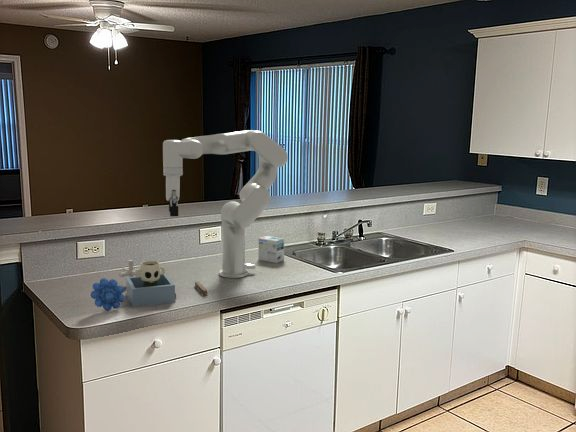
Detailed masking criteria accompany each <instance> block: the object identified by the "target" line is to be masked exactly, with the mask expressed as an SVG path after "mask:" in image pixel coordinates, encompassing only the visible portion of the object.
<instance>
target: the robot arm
mask: <svg viewBox="0 0 576 432" xmlns="http://www.w3.org/2000/svg"><path fill="white" fill-rule="evenodd" d="M249 151H253V152H255V153H256V154H258V164H259V165H258V168H257V171H256V172H255V174H254V175H253V176H252V177H251V178H250V179H249V180H248V182H247V183H245V185H244V186H243V187H242V188H241V190H240V191H239V199H240V201H241V203H240V202H238V201H234V200H231V201H227V202H226V203H225V204H224V205H223V206H222V207H221V210H220V220H221V227H222V231H221V232H222V248H221V249H222V253H221V254H222V258H221V259H222V261H221V262H222V269H219V271H218V275H219V277H222V278H227V279H239V278H240V279H241V278H245V277H246V276H248V275H249V270H255V269H256V264H251V263H246V261H245V258H246V256H245V252H246V250H245V248H246V247H245V245H246V243H245V241H246V231H245V228H248V227H249V226H251V225H252V224H253V223H254V221H255V220H257V218H258V217H259V216H260V215H261V214H262V213H263V211H264V210H265V209H266V208H267V207H268V205H269V203H270V200H271V193H270V191H269V189H270V188H272V185H273V184H274V182H275V181H276V178H277V175H278V174H277V173H278V168H281V167H284V166H285V165H286V164H287V162H288V160H289V159H288V158H289V157H288V152H287V151H286V149H284V148H283V147H282V146H281V145H280V144H279V143H278V142H276V141H275V140H273V139H272V138H271V136H268V135H267V134H266V133H264V132H263V131H261V130H254V129H250V130H249V129H247V130H240V131H233V132H226V133H225V132H224V133H216V134H209V135H200V136H194V137H192V136H191V137H186V138H182V139H181V140H179V139H166V140H164V141H163V142H162V163H163V164H162V165H163V167H162V168H163V174H162V175H163V176H164V177H165V199H166V201H167V202H168V212H169V216H170V217H179V206H178V205H179V204H178V203H179V202H178V201H179V200H180V193H181V192H180V189H181V188H180V187H181V186H180V185H181V184H180V183H181V182H180V181H181V179H180V178H181V177H182V176H183V174H184V171H183V169H184V168H183V162H184V161H183V160H184V159H193V160H195V159H199V158H200V157H201V156H202V155H211V154H212V155H229V154H236V153H243V152H244V153H245V152H249Z"/></svg>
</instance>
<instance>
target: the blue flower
mask: <svg viewBox="0 0 576 432" xmlns="http://www.w3.org/2000/svg"><path fill="white" fill-rule="evenodd" d="M92 289H93V290H92V291H91V292H90V297H91V298H92V299H93V300H94V305H95V306H96V307H98V308H101V307H102V308H103V309H104V311H106V312H107V311H111V310H112V308H113V309H119V308H121V303H123V302H124V301H125V299H126V297H125V295H124V292H125V289H124V287H123V286H122V285H119V284H118V281H117V280H116V279H114V278H112V279H110V280H109V279H107V278H106V277H102V278H100V280H99V282H94V283H92Z"/></svg>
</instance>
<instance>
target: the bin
mask: <svg viewBox="0 0 576 432" xmlns="http://www.w3.org/2000/svg"><path fill="white" fill-rule="evenodd" d="M125 281H126V282H125V284H126V287H125V288H126V289H125V290H126V291H125V292H126V295H127V298H128V300H129V302H130V304H131V306H132V308H137V307H145V306H154V305H162V304H170V303H176V299H175V293H176V284H175V283H174V282H173V281H172V279H171V278H170V277H169V276H168V275H167V273H164V274H163V275H160V278H159V279H158V280H157V283H158V286H151V287H143V283H144V281H143V280H141V277H139V278H136V276H134V277H129V276H125Z"/></svg>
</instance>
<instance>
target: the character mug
mask: <svg viewBox="0 0 576 432" xmlns="http://www.w3.org/2000/svg"><path fill="white" fill-rule="evenodd" d="M139 264H140V265H139V266H140V267H139V268H140V269H138V268H135V269H136V271H135V274H136V276H135V277H136V278H139V277H141V280H143V281H144V283H143V287H151V286H158V283H157V280H158V279H159V278H160V275H163V274H166V272H165V270H166V269H165V266H161V265H160V261H158V260H144V261H141V262H140V263H139ZM138 271H140V272H141V275H138Z"/></svg>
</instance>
